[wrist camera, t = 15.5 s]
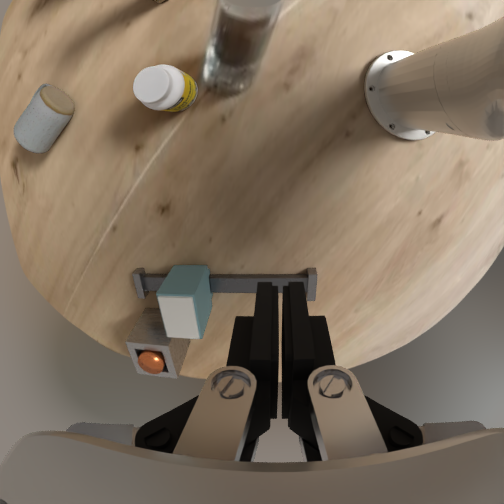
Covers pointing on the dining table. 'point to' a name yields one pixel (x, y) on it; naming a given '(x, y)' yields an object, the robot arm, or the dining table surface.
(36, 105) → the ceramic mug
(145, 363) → the plunger
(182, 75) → the supplement bottle
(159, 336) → the grey button box
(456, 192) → the dining table surface
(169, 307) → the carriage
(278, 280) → the rail
